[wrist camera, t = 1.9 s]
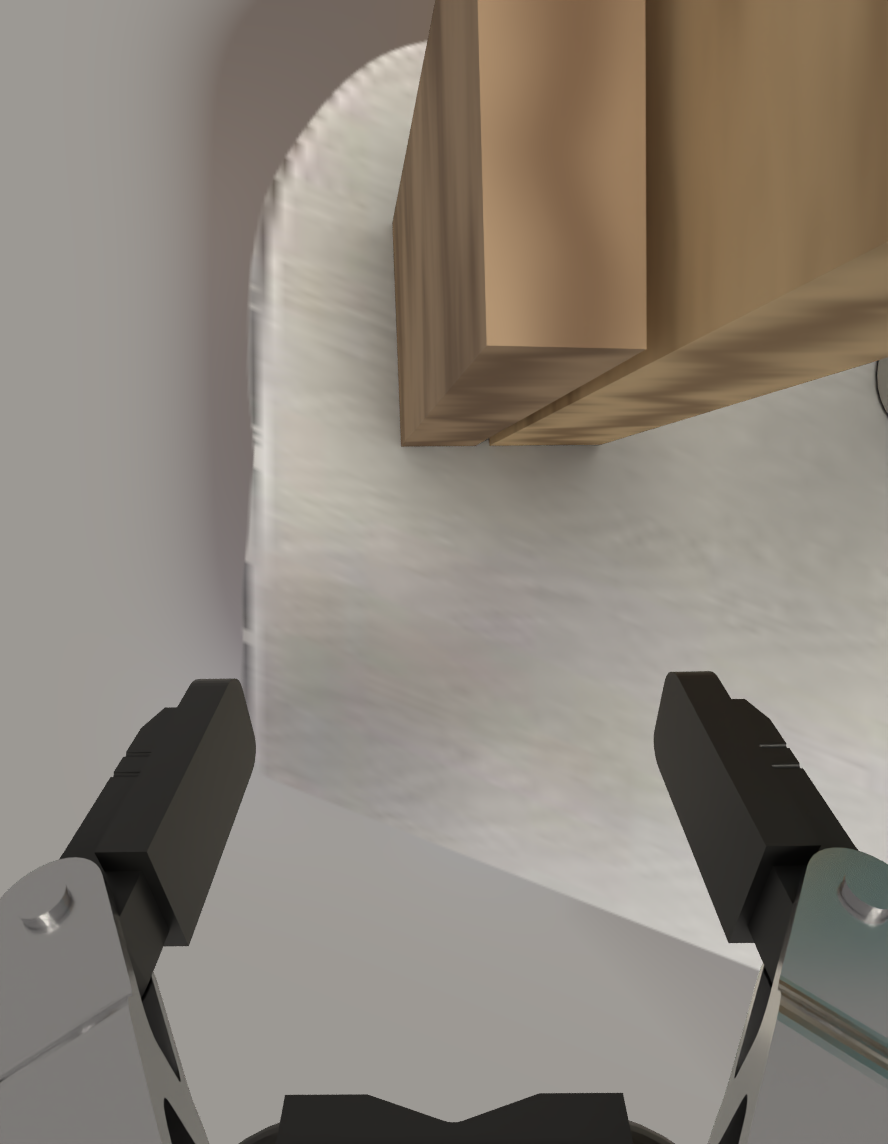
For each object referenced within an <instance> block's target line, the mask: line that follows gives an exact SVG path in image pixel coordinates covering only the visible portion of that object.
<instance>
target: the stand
mask: <svg viewBox="0 0 888 1144" xmlns="http://www.w3.org/2000/svg"><path fill="white" fill-rule="evenodd" d="M645 39H646V326H647V349H646V350H644V351H642V352H641V353H639V354H637V355H635V356H633V357H632V358H630V359H628V360H626V361H625V362H623V363H621V364H619V365H618V366H616V367H614V368H612V369H610V370H609V371H607V372H605V373H603V374H602V375H600V376H598V377H596V378H594V379H593V380H591V381H589V382H587V383H586V384H584V385H582V386H580V387H579V388H577V389H575V390H573V391H571V392H570V393H568V394H566V395H564V396H563V397H561V398H559V399H557V400H556V401H554V402H552V403H550V404H548V405H547V406H545V407H543V408H541V409H540V410H538V411H536V412H534V413H533V414H531V415H529V416H527V417H525V418H524V419H522V420H520V421H518V422H517V423H515V424H513V425H511V426H509V427H508V428H506V429H504V430H502V431H501V432H499V433H497V434H495V435H494V436H492V437H490V446H508V445H601V444H604V443H607V442H611V441H614V440H617V439H621V438H624V437H627V436H631V435H634V434H637V433H640V432H644V431H647V430H650V429H654V428H657V427H660V426H663V425H667V424H670V423H673V422H677V421H680V420H683V419H687V418H690V417H693V416H696V415H700V414H703V413H706V412H710V411H713V410H716V409H719V408H723V407H726V406H729V405H733V404H736V403H739V402H743V401H746V400H749V399H752V398H756V397H759V396H762V395H766V394H769V393H772V392H775V391H779V390H782V389H785V388H789V387H792V386H795V385H799V384H802V383H805V382H808V381H812V380H815V379H818V378H822V377H825V376H828V375H831V374H835V373H838V372H841V371H845V370H848V369H851V368H855V367H858V366H861V365H864V364H868V363H871V362H874V361H878V360H881V359H884V358H887V357H888V0H645Z"/></svg>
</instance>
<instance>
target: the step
mask: <svg viewBox="0 0 888 1144" xmlns="http://www.w3.org/2000/svg"><path fill="white" fill-rule="evenodd" d="M392 224H393V250H394V276H395V301H396V327H397V353H398V378H399V404H400V430H401V447H404V446H476V445H478V444H479V443H481V442H483V441H485V440H486V439H488V438H490V437H492V436H494V435H495V434H497V433H499V432H501V431H502V430H504V429H506V428H508V427H509V426H511V425H513V424H515V423H517V422H518V421H520V420H522V419H524V418H525V417H527V416H529V415H531V414H533V413H534V412H536V411H538V410H540V409H541V408H543V407H545V406H547V405H548V404H550V403H552V402H554V401H556V400H557V399H559V398H561V397H563V396H564V395H566V394H568V393H570V392H571V391H573V390H575V389H577V388H579V387H580V386H582V385H584V384H586V383H587V382H589V381H591V380H593V379H594V378H596V377H598V376H600V375H602V374H603V373H605V372H607V371H609V370H610V369H612V368H614V367H616V366H618V365H619V364H621V363H623V362H625V361H626V360H628V359H630V358H632V357H633V356H635V355H637V354H639V353H641V352H642V351H644V350H646V349H647V326H646V39H645V0H435V5H434V10H433V15H432V20H431V25H430V30H429V36H428V41H427V46H426V51H425V56H424V62H423V67H422V72H421V77H420V82H419V88H418V93H417V98H416V103H415V108H414V114H413V119H412V124H411V129H410V134H409V140H408V145H407V150H406V155H405V161H404V166H403V171H402V176H401V181H400V187H399V192H398V197H397V202H396V207H395V213H394V218H393V223H392Z"/></svg>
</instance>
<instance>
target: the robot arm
mask: <svg viewBox="0 0 888 1144" xmlns="http://www.w3.org/2000/svg"><path fill="white" fill-rule="evenodd" d="M877 379H878V390H879V394H880V398H881V401H882V403H883V406H884V408H885V410H886V412H887V413H888V357H887V358H884V359H881V360H879V364H878V373H877ZM654 750H655V756H656V761H657V764H658V767H659V770H660V772H661V775H662V777H663V780H664V782H665V785H666V787H667V790H668V792H669V795H670V797H671V800H672V802H673V805H674V807H675V810H676V812H677V815H678V817H679V820H680V822H681V825H682V827H683V830H684V832H685V835H686V837H687V840H688V842H689V845H690V847H691V850H692V852H693V855H694V857H695V860H696V862H697V865H698V867H699V870H700V872H701V875H702V877H703V880H704V883H705V885H706V888H707V890H708V893H709V895H710V898H711V900H712V903H713V905H714V908H715V910H716V913H717V915H718V918H719V920H720V923H721V925H722V928H723V930H724V933H725V935H726V938H727V940H728V943H755V945H756V947H757V950H758V952H759V954H760V957H761V959H762V961H763V964H762V966H761V968H760V971H759V974H758V977H757V981H756V985H755V988H754V992H753V995H752V999H751V1003H750V1006H749V1010H748V1013H747V1017H746V1021H745V1024H744V1028H743V1032H742V1035H741V1039H740V1043H739V1046H738V1050H737V1053H736V1057H735V1061H734V1064H733V1068H732V1071H731V1075H730V1078H729V1082H728V1086H727V1089H726V1092H725V1095H724V1098H723V1101H722V1104H721V1107H720V1109H719V1112H718V1114H717V1117H716V1120H715V1123H714V1126H713V1129H712V1132H711V1135H710V1138H709V1141H708V1144H888V864H886V863H884V862H883V861H881V860H879V859H877V858H875V857H873V856H871V855H868V854H866V853H863V852H860V851H858V849H857V848H856V847H855V845H854V844H853V842H852V841H851V839H850V838H849V836H848V835H847V833H846V832H845V830H844V829H843V828H842V826H841V825H840V823H839V822H838V820H837V819H836V817H835V816H834V814H833V813H832V811H831V810H830V808H829V807H828V805H827V804H826V802H825V801H824V799H823V798H822V796H821V795H820V793H819V792H818V790H817V789H816V787H815V786H814V784H813V783H812V781H811V780H810V778H809V777H808V775H807V774H806V772H805V771H804V769H803V768H800V766H799V762H798V760H797V759H796V757H795V756H794V754H793V753H792V751H791V750H790V748H787V747H786V742H785V741H784V739H783V738H782V736H781V735H780V733H779V732H778V730H777V729H776V727H775V726H774V724H773V723H772V721H771V720H770V719H769V718H768V717H767V716H765V715H764V714H763V713H762V712H760V711H759V710H758V709H757V708H755V707H754V706H753V705H752V704H750V703H749V702H748V701H747V700H745V699H731V698H730V696H729V695H728V693H727V691H726V690H725V688H724V686H723V685H722V683H721V682H720V680H719V678H718V677H717V675H716V674H715V673H713V672H711V671H696V672H669V673H668V675H667V676H666V679H665V683H664V687H663V692H662V697H661V702H660V707H659V711H658V716H657V721H656V726H655V731H654ZM255 753H256V743H255V736H254V732H253V728H252V724H251V720H250V716H249V713H248V709H247V705H246V701H245V697H244V693H243V689H242V686H241V684H240V682H239V680H237V679H197V680H195V681H193V682H192V683H191V685H190V686H189V688H188V690H187V691H186V693H185V695H184V697H183V698H182V700H181V702H180V704H179V705H178V707H176V708H164V709H163V710H162V711H161V712H159V713H158V714H157V715H156V716H155V717H154V718H152V719H151V720H150V721H149V722H148V723H147V724H146V725H144V726H143V727H142V728H141V729H140V731H139V732H138V734H137V736H136V737H135V739H134V741H133V742H132V744H131V745H130V747H129V749H128V750H127V752H126V757H123V758H122V760H121V762H120V763H119V765H118V766H117V768H116V769H115V771H114V777H111V778H110V779H109V781H108V782H107V784H106V785H105V787H104V789H103V790H102V792H101V794H100V795H99V797H98V798H97V800H96V802H95V803H94V805H93V807H92V808H91V810H90V811H89V813H88V814H87V816H86V818H85V819H84V821H83V823H82V824H81V826H80V827H79V829H78V830H77V832H76V834H75V835H74V837H73V839H72V840H71V842H70V843H69V845H68V847H67V848H66V850H65V851H64V853H63V854H62V856H61V857H60V859H59V860H56V861H53V862H50V863H48V864H46V865H43V866H41V867H39V868H37V869H35V870H34V871H32V872H30V873H29V874H27V875H26V876H24V877H23V878H21V879H20V880H19V881H18V882H16V883H15V884H14V885H13V886H12V887H11V888H10V889H9V890H8V891H7V892H6V893H5V894H4V895H3V896H2V897H1V899H0V1144H209V1141H208V1138H207V1136H206V1133H205V1130H204V1127H203V1125H202V1122H201V1120H200V1117H199V1115H198V1112H197V1110H196V1107H195V1105H194V1103H193V1100H192V1097H191V1094H190V1091H189V1088H188V1085H187V1082H186V1078H185V1075H184V1071H183V1068H182V1064H181V1061H180V1058H179V1054H178V1051H177V1048H176V1044H175V1041H174V1037H173V1034H172V1031H171V1027H170V1024H169V1021H168V1017H167V1014H166V1010H165V1007H164V1003H163V1000H162V997H161V993H160V990H159V987H158V983H157V980H156V977H155V975H154V972H153V970H154V968H155V966H156V963H157V960H158V958H159V956H160V953H161V950H162V948H163V946H189V944H190V941H191V938H192V936H193V933H194V930H195V927H196V925H197V922H198V919H199V916H200V913H201V911H202V908H203V905H204V903H205V900H206V897H207V894H208V892H209V889H210V886H211V883H212V881H213V878H214V875H215V872H216V870H217V866H218V864H219V861H220V858H221V856H222V853H223V850H224V848H225V845H226V842H227V839H228V837H229V834H230V831H231V828H232V826H233V823H234V820H235V817H236V815H237V812H238V809H239V806H240V803H241V801H242V798H243V795H244V792H245V790H246V787H247V784H248V782H249V779H250V776H251V773H252V770H253V767H254V762H255ZM239 1144H675V1143H673V1142H672V1141H670V1140H668V1139H667V1138H666V1137H664V1136H662V1135H660V1134H658V1133H656V1132H654V1131H652V1130H650V1129H648V1128H646V1127H644V1126H642V1125H640V1124H637V1123H635V1122H632V1121H629V1120H628V1116H627V1112H626V1106H625V1101H624V1097H623V1093H553V1094H552V1093H551V1094H550V1093H548V1094H547V1093H546V1094H545V1093H543V1094H542V1093H541V1094H537V1095H534V1096H531V1097H528V1098H525V1099H523V1100H520V1101H517V1102H514V1103H511V1104H509V1105H506V1106H503V1107H500V1108H497V1109H495V1110H492V1111H489V1112H486V1113H484V1114H481V1115H478V1116H475V1117H472V1118H470V1119H467V1120H464V1121H460V1122H453V1123H452V1122H446V1121H442V1120H440V1119H436V1118H434V1117H431V1116H428V1115H425V1114H422V1113H419V1112H416V1111H413V1110H411V1109H408V1108H405V1107H402V1106H399V1105H396V1104H393V1103H390V1102H387V1101H385V1100H382V1099H379V1098H376V1097H373V1096H370V1095H285V1099H284V1105H283V1110H282V1115H281V1120H280V1123H278V1124H275V1125H272V1126H270V1127H267V1128H265V1129H263V1130H261V1131H259V1132H258V1133H256V1134H254V1135H252V1136H250V1137H248V1138H246V1139H245V1140H243V1141H242V1142H240V1143H239Z"/></svg>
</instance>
